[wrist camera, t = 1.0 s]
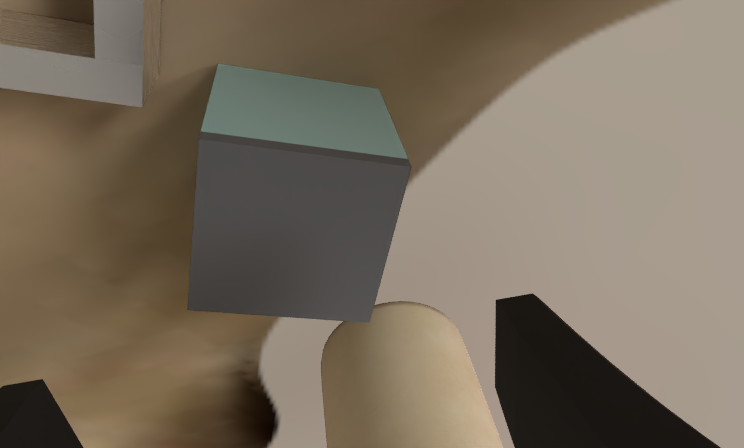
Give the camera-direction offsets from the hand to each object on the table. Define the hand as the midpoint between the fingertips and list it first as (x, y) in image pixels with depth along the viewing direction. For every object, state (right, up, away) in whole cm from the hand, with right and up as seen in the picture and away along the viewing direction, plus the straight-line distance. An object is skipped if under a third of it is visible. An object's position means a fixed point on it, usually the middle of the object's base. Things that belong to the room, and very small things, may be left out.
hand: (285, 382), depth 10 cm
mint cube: (-1, +5, +8) cm, 10 cm away
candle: (+2, -2, +13) cm, 14 cm away
